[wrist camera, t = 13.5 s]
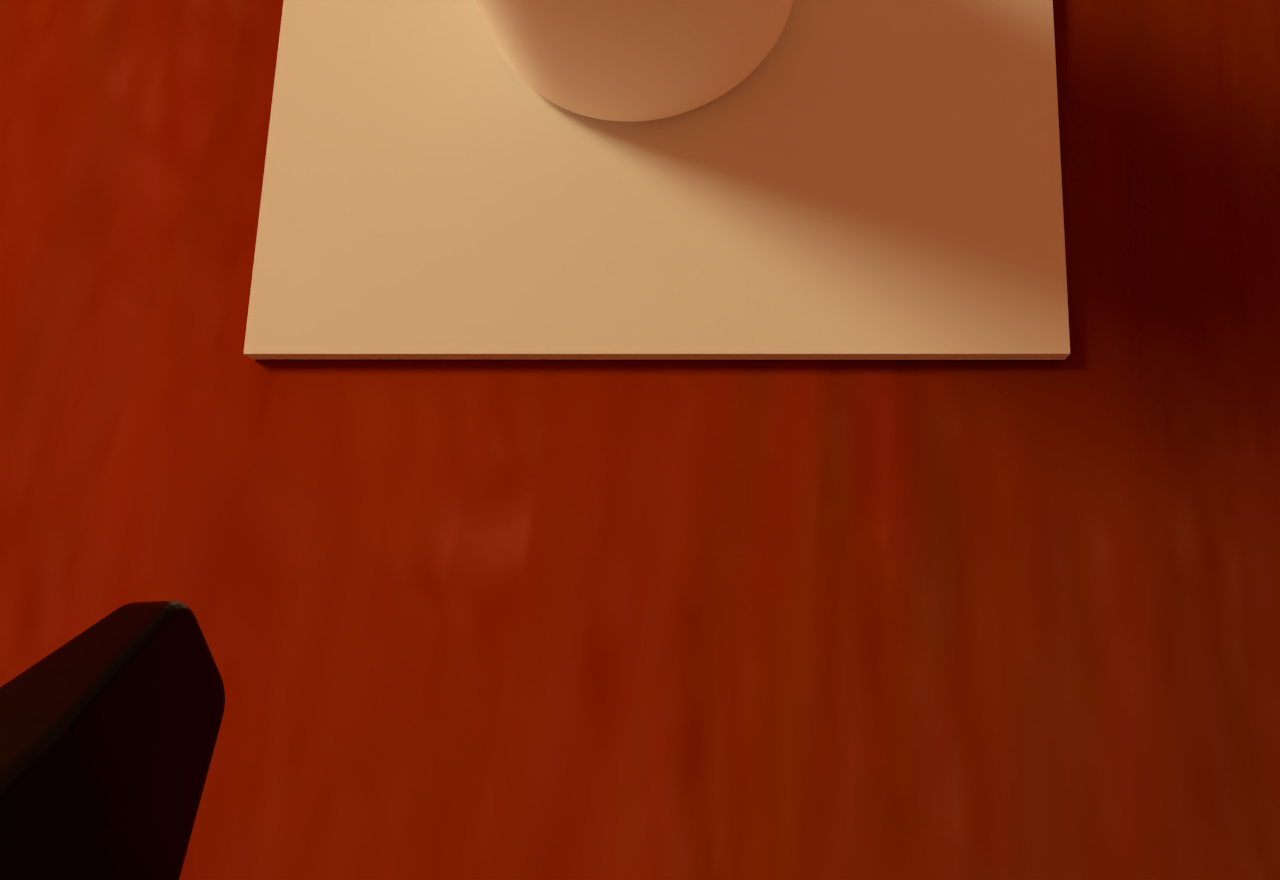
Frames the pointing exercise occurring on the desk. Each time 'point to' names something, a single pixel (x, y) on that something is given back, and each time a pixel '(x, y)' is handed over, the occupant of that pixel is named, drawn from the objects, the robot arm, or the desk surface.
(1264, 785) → the desk surface
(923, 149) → the beige mat
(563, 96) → the can
